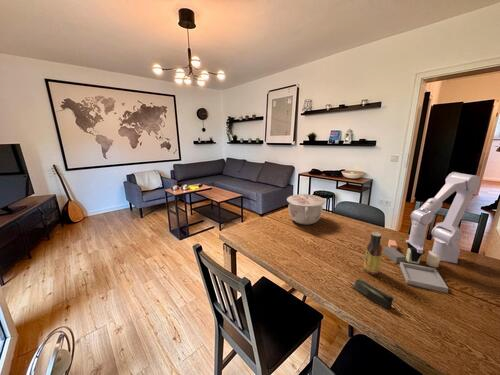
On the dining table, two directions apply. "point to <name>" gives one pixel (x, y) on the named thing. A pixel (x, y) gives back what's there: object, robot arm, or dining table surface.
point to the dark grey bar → (373, 293)
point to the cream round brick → (433, 260)
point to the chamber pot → (305, 208)
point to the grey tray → (423, 277)
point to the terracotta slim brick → (392, 244)
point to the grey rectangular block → (394, 254)
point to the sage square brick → (408, 257)
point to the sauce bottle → (373, 254)
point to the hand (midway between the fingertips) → (412, 258)
